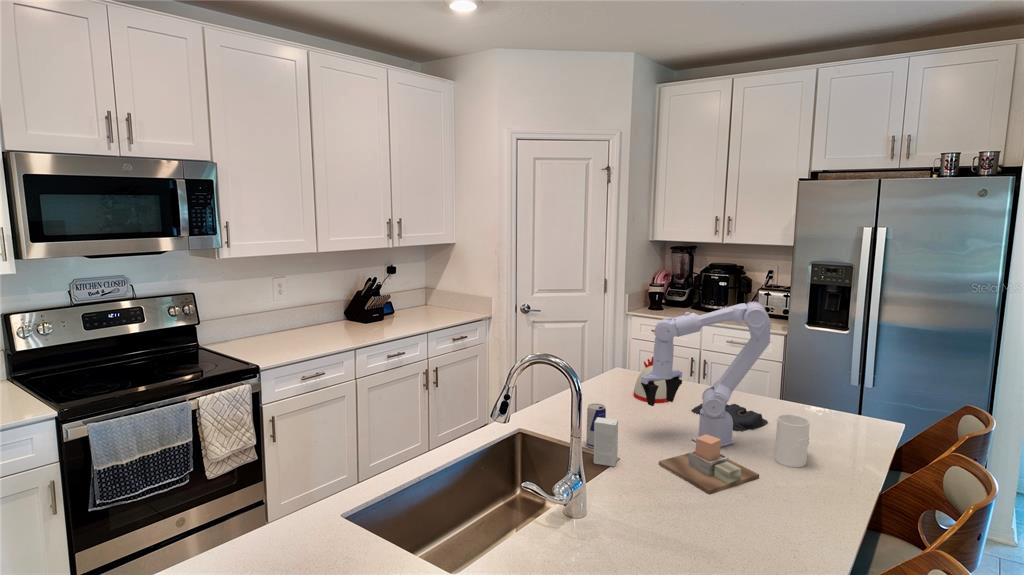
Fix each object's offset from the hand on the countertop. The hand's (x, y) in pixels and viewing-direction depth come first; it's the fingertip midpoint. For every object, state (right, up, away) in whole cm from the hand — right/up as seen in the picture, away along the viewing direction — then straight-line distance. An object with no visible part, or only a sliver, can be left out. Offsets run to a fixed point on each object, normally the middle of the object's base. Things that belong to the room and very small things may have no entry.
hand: (660, 403), depth 177 cm
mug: (+34, -13, -14) cm, 39 cm away
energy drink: (-20, -12, -6) cm, 24 cm away
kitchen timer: (+7, -5, +37) cm, 38 cm away
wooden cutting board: (+7, -14, -21) cm, 26 cm away
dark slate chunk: (+27, -9, +17) cm, 33 cm away
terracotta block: (+7, -10, -22) cm, 25 cm away
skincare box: (-19, -13, -16) cm, 28 cm away
